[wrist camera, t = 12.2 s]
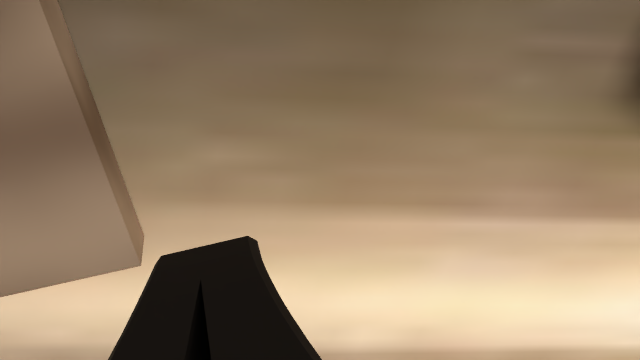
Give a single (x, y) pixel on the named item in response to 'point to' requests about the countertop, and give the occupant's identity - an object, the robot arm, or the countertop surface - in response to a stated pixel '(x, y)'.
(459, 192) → the countertop surface
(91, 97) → the flat wooden platform
